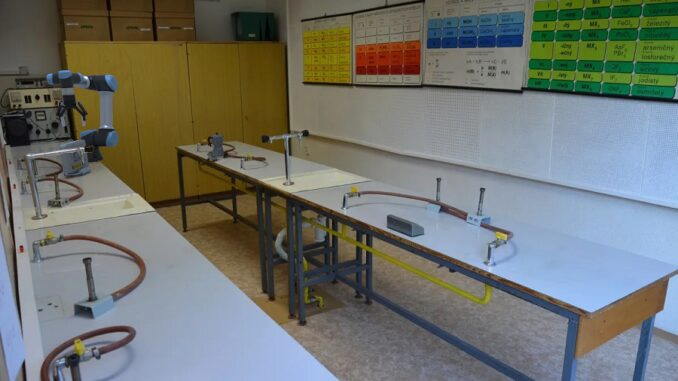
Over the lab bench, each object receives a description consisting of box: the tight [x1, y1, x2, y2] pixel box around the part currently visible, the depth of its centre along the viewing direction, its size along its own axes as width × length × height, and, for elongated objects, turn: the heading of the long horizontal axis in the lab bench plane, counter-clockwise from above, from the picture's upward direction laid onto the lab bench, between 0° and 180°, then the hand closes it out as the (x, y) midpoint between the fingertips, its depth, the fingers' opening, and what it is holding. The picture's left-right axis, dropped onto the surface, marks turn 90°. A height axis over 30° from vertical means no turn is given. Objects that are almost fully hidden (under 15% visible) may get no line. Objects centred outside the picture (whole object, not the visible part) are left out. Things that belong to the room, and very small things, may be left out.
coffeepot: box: [206, 132, 225, 157], centre depth 387 cm, size 15×9×18 cm, turn 138°
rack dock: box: [63, 165, 91, 177], centre depth 330 cm, size 10×13×4 cm
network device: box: [59, 139, 89, 175], centre depth 327 cm, size 26×9×20 cm, turn 1°
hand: (74, 126), depth 336 cm, fingers open, 13 cm apart
